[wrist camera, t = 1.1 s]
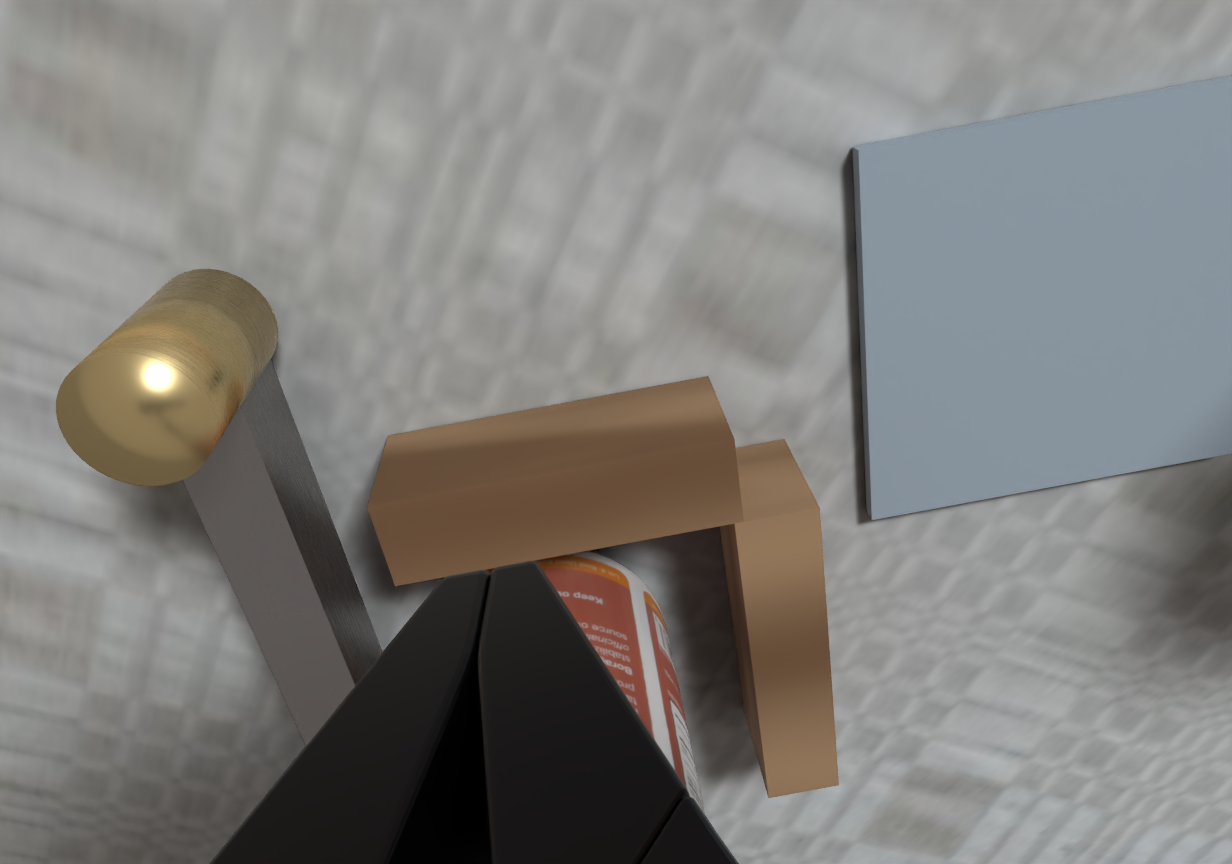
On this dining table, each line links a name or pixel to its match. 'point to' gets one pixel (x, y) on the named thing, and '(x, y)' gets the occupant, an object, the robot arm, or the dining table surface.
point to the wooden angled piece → (636, 531)
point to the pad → (1045, 297)
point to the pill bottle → (629, 647)
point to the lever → (229, 472)
